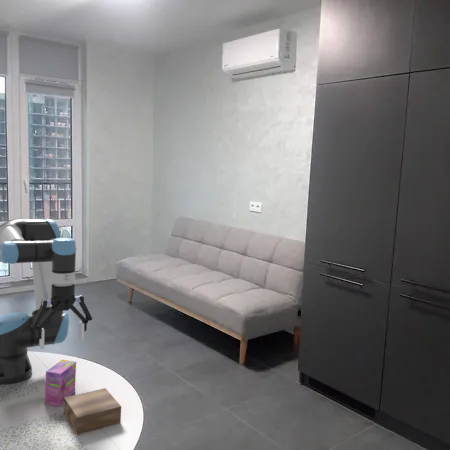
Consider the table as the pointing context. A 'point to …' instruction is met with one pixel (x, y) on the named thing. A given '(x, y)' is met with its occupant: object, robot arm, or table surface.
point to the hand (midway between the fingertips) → (62, 344)
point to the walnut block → (92, 411)
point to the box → (60, 382)
